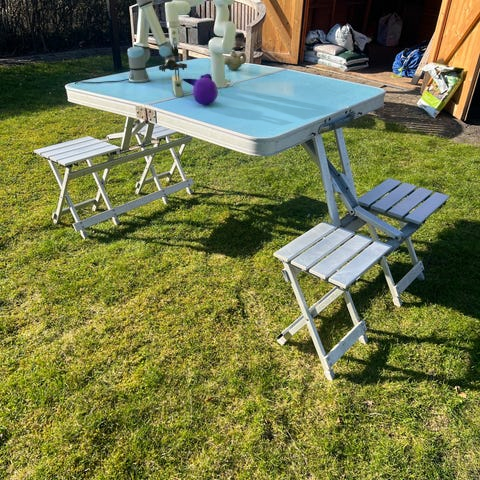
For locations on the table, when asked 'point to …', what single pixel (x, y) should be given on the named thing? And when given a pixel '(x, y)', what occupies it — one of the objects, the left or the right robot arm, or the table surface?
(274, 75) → the table surface
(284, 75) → the table surface
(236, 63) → the teapot
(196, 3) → the right robot arm
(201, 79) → the toy
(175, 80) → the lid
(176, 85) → the cream suitcase
